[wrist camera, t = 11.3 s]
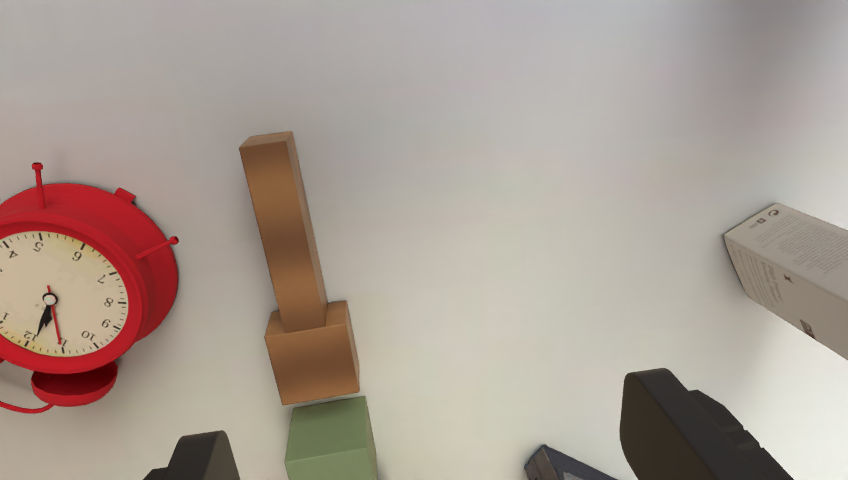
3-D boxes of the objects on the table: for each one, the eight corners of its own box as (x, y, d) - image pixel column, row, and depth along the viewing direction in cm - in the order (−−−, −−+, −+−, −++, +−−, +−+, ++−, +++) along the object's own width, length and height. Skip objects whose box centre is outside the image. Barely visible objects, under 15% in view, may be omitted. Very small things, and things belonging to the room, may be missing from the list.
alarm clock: (205, 251, 28) (54, 491, 28) (219, 232, 34) (95, 430, 34) (-5, 139, 25) (-172, 410, 25) (52, 140, 31) (-84, 358, 31)
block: (292, 408, 36) (284, 462, 32) (365, 395, 37) (367, 447, 32) (307, 463, 38) (300, 522, 34) (375, 451, 39) (378, 508, 34)
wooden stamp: (227, 139, 29) (214, 150, 27) (313, 127, 30) (309, 137, 27) (287, 376, 35) (282, 406, 33) (359, 364, 36) (359, 392, 33)
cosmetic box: (718, 235, 36) (886, 327, 24) (778, 198, 35) (978, 274, 24) (748, 300, 38) (914, 412, 27) (805, 266, 37) (998, 366, 26)
